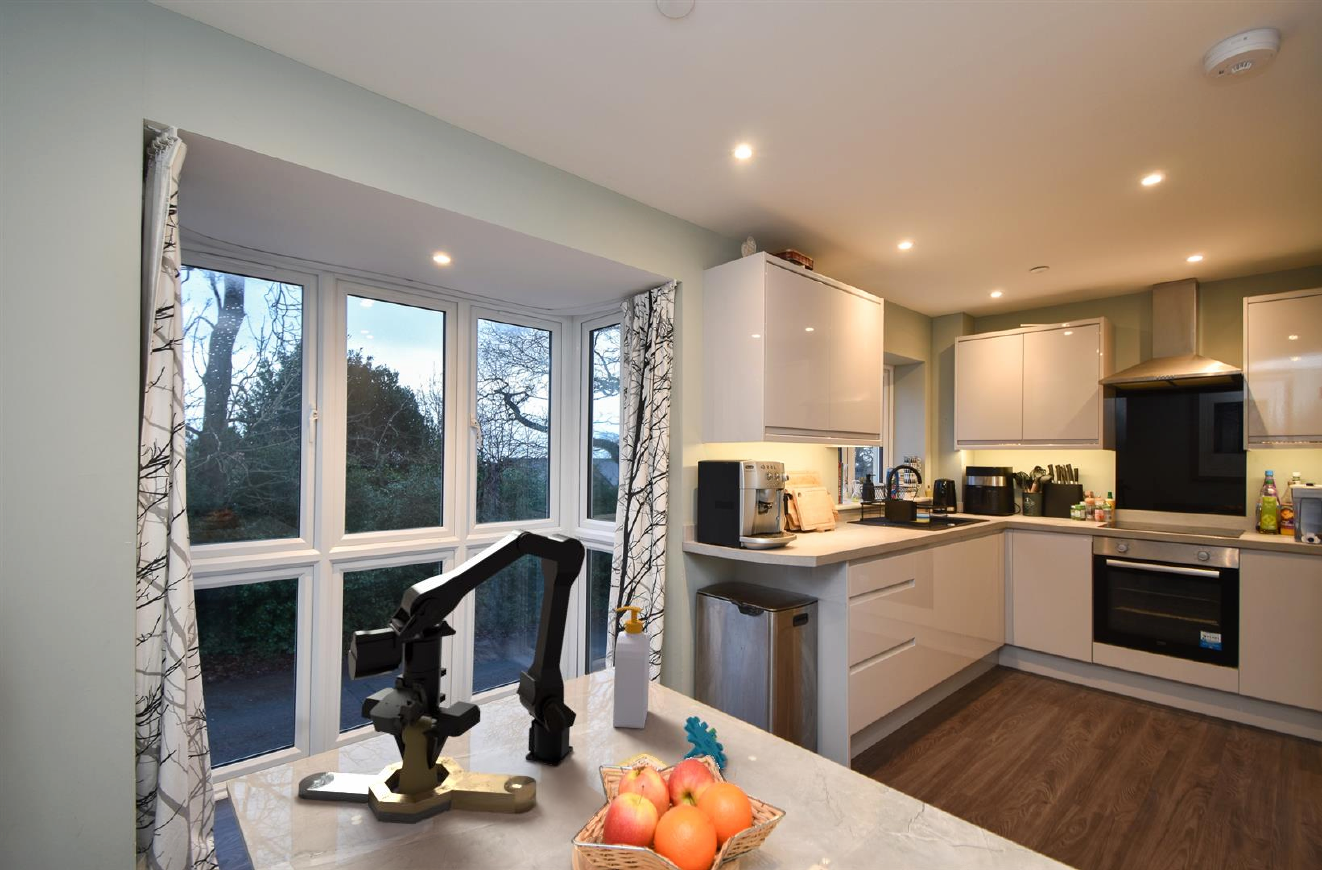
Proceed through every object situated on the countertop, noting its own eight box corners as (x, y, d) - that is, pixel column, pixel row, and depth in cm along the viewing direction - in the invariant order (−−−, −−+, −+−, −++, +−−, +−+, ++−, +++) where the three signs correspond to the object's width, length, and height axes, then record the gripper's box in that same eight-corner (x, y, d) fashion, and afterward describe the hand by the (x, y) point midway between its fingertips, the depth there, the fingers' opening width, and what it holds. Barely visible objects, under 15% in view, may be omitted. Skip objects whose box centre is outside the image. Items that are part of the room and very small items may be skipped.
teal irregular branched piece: (718, 775, 99) (682, 721, 103) (693, 795, 100) (658, 742, 104) (736, 754, 109) (703, 706, 113) (713, 773, 110) (681, 725, 114)
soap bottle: (615, 708, 127) (619, 601, 128) (648, 710, 127) (651, 603, 127) (608, 727, 118) (612, 612, 119) (643, 730, 118) (647, 614, 118)
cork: (446, 786, 95) (448, 717, 95) (416, 807, 89) (419, 733, 90) (418, 776, 97) (421, 709, 98) (388, 796, 92) (390, 724, 92)
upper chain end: (545, 781, 99) (546, 763, 99) (523, 832, 86) (523, 811, 86) (397, 772, 100) (398, 754, 100) (353, 820, 87) (354, 799, 87)
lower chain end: (472, 777, 99) (473, 768, 99) (439, 826, 86) (439, 815, 86) (327, 767, 101) (327, 758, 101) (272, 814, 88) (272, 804, 88)
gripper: (334, 675, 89) (330, 780, 89) (436, 695, 83) (432, 807, 83) (389, 652, 100) (386, 745, 99) (484, 667, 94) (480, 767, 93)
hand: (418, 765), depth 93 cm, fingers closed on cork, 4 cm apart
